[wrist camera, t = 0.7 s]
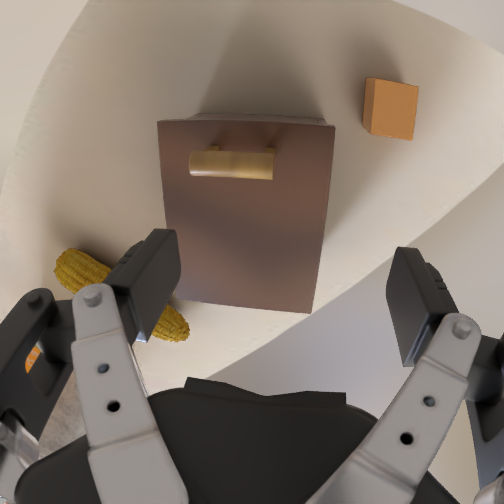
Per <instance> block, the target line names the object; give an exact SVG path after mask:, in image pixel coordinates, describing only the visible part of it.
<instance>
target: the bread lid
mask: <svg viewBox="0 0 504 504" xmlns="http://www.w3.org/2000/svg"><path fill="white" fill-rule="evenodd" d="M157 126H158V141H159V155H160V167H161V178H162V189H163V199H164V208H165V217H166V225H167V229H173V230H175V231H176V233H177V239H178V247H179V254H180V262H181V276H180V280H179V282H178V284H177V286H176V288H175V290H176V296H177V299H180V300H188V301H195V302H203V303H211V304H219V305H228V306H236V307H245V308H255V309H264V310H275V311H285V312H296V313H308V314H311V312H312V306H313V300H314V294H315V288H316V282H317V276H318V269H319V263H320V256H321V249H322V242H323V235H324V228H325V220H326V213H327V205H328V196H329V188H330V179H331V170H332V160H333V150H334V139H335V126H334V125H327V124H317V123H306V122H293V121H278V120H258V119H172V120H160V121H158V122H157Z"/></svg>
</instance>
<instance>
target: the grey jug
mask: <svg viewBox="0 0 504 504" xmlns="http://www.w3.org/2000/svg"><path fill="white" fill-rule="evenodd" d="M85 434H86V430H85V426H84V422H83V417H82V412H81V407H80V402H79V397H78V392H77V386H76V380H75V373H74V370H73V372H72V374H71V376H70V377H69V379H68V381H67V383H66V385H65V387H64V389H63V391H62V393H61V395H60V397H59V399H58V401H57V403H56V405H55V407H54V409H53V411H52V413H51V415H50V417H49V420H48V422H47V424H46V426H45V428H44V430H43V432H42V435H41V437H40V439H39V441H38V444H39V448H40V453H39V457H40V458H41V459H42V458H44V457H45V456H47V455H49V454H51V453H53V452H55V451H56V450H58V449H60V448H62V447H64V446H65V445H67V444H69V443H71V442H73V441H74V440H76V439H78V438H80V437H81V436H83V435H85ZM4 504H13V503H11V502H10V501H8V500H7V501H6V502H5V503H4Z"/></svg>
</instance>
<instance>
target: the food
mask: <svg viewBox="0 0 504 504" xmlns="http://www.w3.org/2000/svg"><path fill="white" fill-rule="evenodd" d="M111 271H112V269H111V268H109V267H108V266H105V265H104V264H101V263H100V262H97V261H96V260H95V259H94V258H92V257H91V256H89V255H87V254H86V253H83V252H81V251H79V250H77V249H72V248H69V249H68V250H66V251H64V252H63V253H62V255H60V256H59V258H58V259H57V260H56V268H55V270H54V273H55V274H56V277H57V279H58V280H59V281H60V283H61V284H62V285H63V286H64V287H66V288H67V289H68V290H70V291H72V292H73V293H74V294H76V293H77V292H78V291H79V290H80V289H82V288H83V287H85V286H88V285H91V284H96V283H102V282H103V281H104V279H105V278H106V277H107V275H108V274H109V273H110V272H111ZM189 331H190V329H189V325H188V323H187V322H185V319H184V318H183V317H182V315H181V314H179V313H178V312H177V311H176V310H175V309H173V308H172V307H171V306H169V305H168V304H167V305H166V307H165V309H164V311H163V312H162V314H161V316H160V318H159V320H158V322H157V324H156V326H155V328H154V330H153V332H152V334H151V335H153V336H155V337H157V338H160V339H163V340H169V341H170V342H171V341H175V342H178V341H185V340H186V338H188V335H190V334H189Z"/></svg>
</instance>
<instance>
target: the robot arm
mask: <svg viewBox="0 0 504 504" xmlns="http://www.w3.org/2000/svg"><path fill="white" fill-rule="evenodd" d="M180 276H181V262H180V254H179V247H178V239H177V233H176V231H175V230H173V229H154V230H153V231H152V232H151V233H150V235H149V236H148V237H147V238H146V239H145V241H142V240H141V241H140V242H138V243H137V244H135V245H133V246H132V247H131V248H130V249H129V250H128V251H127V252H126V253H125V255H124V257H122V258H121V259H120V261H119V263H117V264H116V266H115V267H114V268H113V269H112V271H111V272H110V273H109V274H108V275H107V277H106V278H105V279H104V281H103V282H102V283H96V284H91V285H88V286H85V287H83V288H82V289H80V290H79V291H78V292H77V293H76V294H75V295H74V297H73V300H61V301H55V299H54V296H53V294H52V292H51V291H50V290H49V289H46V288H38V289H34V290H32V291H30V292H28V293H27V294H25V295H24V296H23V297H22V298H21V299H20V300H19V302H18V303H17V304H16V305H15V306H14V308H13V309H12V310H11V311H10V313H9V314H8V315H7V316H6V318H5V319H4V320H3V321H2V323H1V324H0V497H1V498H5V499H7V500H8V501H10V502H11V503H13V504H460V503H459V502H458V501H457V500H456V499H455V498H454V497H453V496H452V495H451V494H450V493H449V492H448V491H447V490H446V489H445V488H444V487H443V486H442V485H441V484H440V483H439V482H438V481H437V480H436V479H435V478H434V477H433V476H432V474H431V473H430V472H429V471H428V470H427V469H428V468H429V466H430V464H431V462H432V461H433V459H434V457H435V455H436V454H437V452H438V450H439V448H440V446H441V444H442V442H443V440H444V438H445V436H446V434H447V432H448V430H449V428H450V426H451V424H452V422H453V420H454V417H455V416H456V414H457V411H458V409H459V407H460V405H461V402H462V400H463V399H465V400H466V405H467V410H468V414H469V419H470V424H471V429H472V435H473V441H474V447H475V454H476V461H477V469H478V477H479V487H480V491H479V492H478V493H477V495H476V496H475V499H474V501H473V504H504V333H503V335H502V337H501V339H500V340H499V339H495V338H491V337H488V336H484V335H482V334H481V330H480V327H479V326H478V324H477V323H476V322H475V321H474V320H473V319H471V318H470V317H468V316H466V315H464V314H461V313H459V311H458V309H457V307H456V305H455V303H454V301H453V299H452V297H451V295H450V293H449V291H448V290H447V287H446V285H445V283H444V282H443V279H442V277H441V275H440V273H439V272H438V271H437V270H436V269H435V268H434V267H433V266H432V265H431V264H430V263H426V262H425V261H424V259H423V257H422V255H421V253H420V252H419V250H418V249H417V248H408V247H397V249H396V251H395V254H394V258H393V262H392V266H391V269H390V273H389V277H388V280H387V285H386V299H387V303H388V306H389V310H390V314H391V318H392V322H393V326H394V329H395V333H396V337H397V341H398V346H399V350H400V354H401V359H402V363H403V367H414V369H413V370H412V372H411V373H410V375H409V377H408V378H407V380H406V381H405V383H404V384H403V386H402V387H401V389H400V390H399V392H398V393H397V395H396V396H395V398H394V399H393V401H392V402H391V403H390V405H389V406H388V408H387V409H386V410H385V412H384V413H383V415H382V416H381V417H380V419H379V420H378V419H377V418H376V417H374V416H373V415H371V414H370V413H368V412H366V411H364V410H362V409H360V408H357V407H355V406H352V405H348V404H346V393H342V392H318V391H303V392H296V393H289V394H281V395H272V396H262V395H259V394H256V393H253V392H250V391H247V390H244V389H241V388H238V387H235V386H233V385H230V384H227V383H223V382H217V381H210V380H204V379H198V378H192V377H187V380H186V383H185V386H184V388H174V389H169V390H164V391H161V392H158V393H155V394H153V395H149V392H148V390H147V387H146V385H145V382H144V379H143V377H142V374H141V371H140V368H139V366H138V363H137V360H136V357H135V354H134V351H133V348H132V345H133V343H134V341H135V340H136V341H141V342H146V343H147V342H148V340H149V338H150V336H151V334H152V332H153V330H154V328H155V326H156V324H157V322H158V320H159V318H160V316H161V314H162V312H163V311H164V309H165V307H166V305H167V303H168V301H169V299H170V297H171V295H172V293H173V292H174V290H175V288H176V286H177V284H178V282H179V280H180ZM36 344H37V345H38V347H39V349H40V351H41V352H40V354H39V356H38V357H37V359H36V361H35V362H34V364H33V365H32V367H31V369H30V370H29V372H28V373H27V371H26V367H25V363H26V359H27V357H28V355H29V354H30V352H31V351H32V349H33V348H34V346H35V345H36ZM73 370H74V373H75V380H76V386H77V392H78V397H79V402H80V407H81V412H82V417H83V422H84V426H85V430H86V434H85V435H83V436H81V437H80V438H78V439H76V440H74V441H73V442H71V443H69V444H67V445H65V446H64V447H62V448H60V449H58V450H56V451H55V452H53V453H51V454H49V455H47V456H45V457H44V458H42V459H41V458H40V457H39V453H40V448H39V444H38V441H39V439H40V437H41V435H42V432H43V430H44V428H45V426H46V424H47V422H48V420H49V417H50V415H51V413H52V411H53V409H54V407H55V405H56V403H57V401H58V399H59V397H60V395H61V393H62V391H63V389H64V387H65V385H66V383H67V381H68V379H69V377H70V376H71V374H72V372H73Z"/></svg>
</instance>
